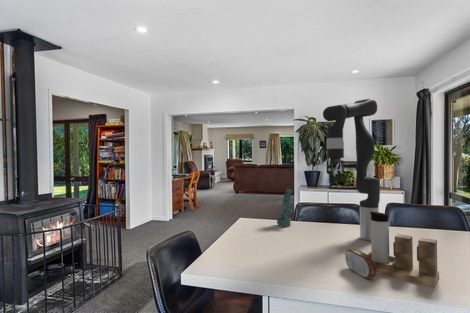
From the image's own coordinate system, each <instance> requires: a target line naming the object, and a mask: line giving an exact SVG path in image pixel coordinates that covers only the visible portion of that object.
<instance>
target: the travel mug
mask: <svg viewBox="0 0 470 313" xmlns="http://www.w3.org/2000/svg"><path fill="white" fill-rule="evenodd" d="M370 214H371V241H370V242H371V243H370V244H371V247H370V248H371V251H370V252H371V256H372V260H373V261H377V262H381V263H386V264H390V261H389V256H390V224H389V222H390V221H389V220H390V219H389V214H388V213H387V214H386V213H383V212H370Z"/></svg>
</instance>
